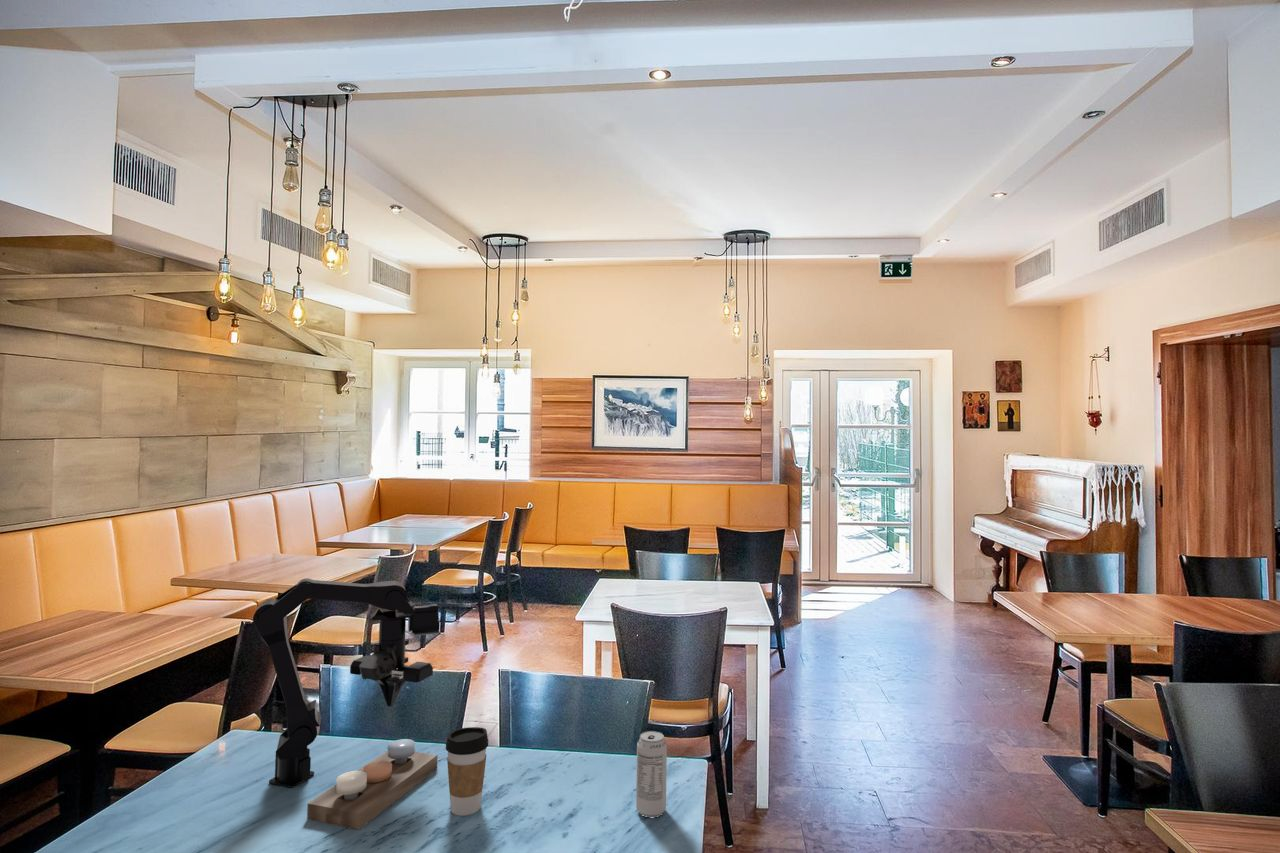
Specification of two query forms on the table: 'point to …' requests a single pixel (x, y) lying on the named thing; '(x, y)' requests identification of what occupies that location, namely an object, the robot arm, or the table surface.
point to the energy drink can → (651, 774)
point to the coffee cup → (466, 768)
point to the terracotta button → (378, 771)
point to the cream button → (351, 784)
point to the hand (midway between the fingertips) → (390, 706)
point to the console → (372, 793)
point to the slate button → (401, 750)
